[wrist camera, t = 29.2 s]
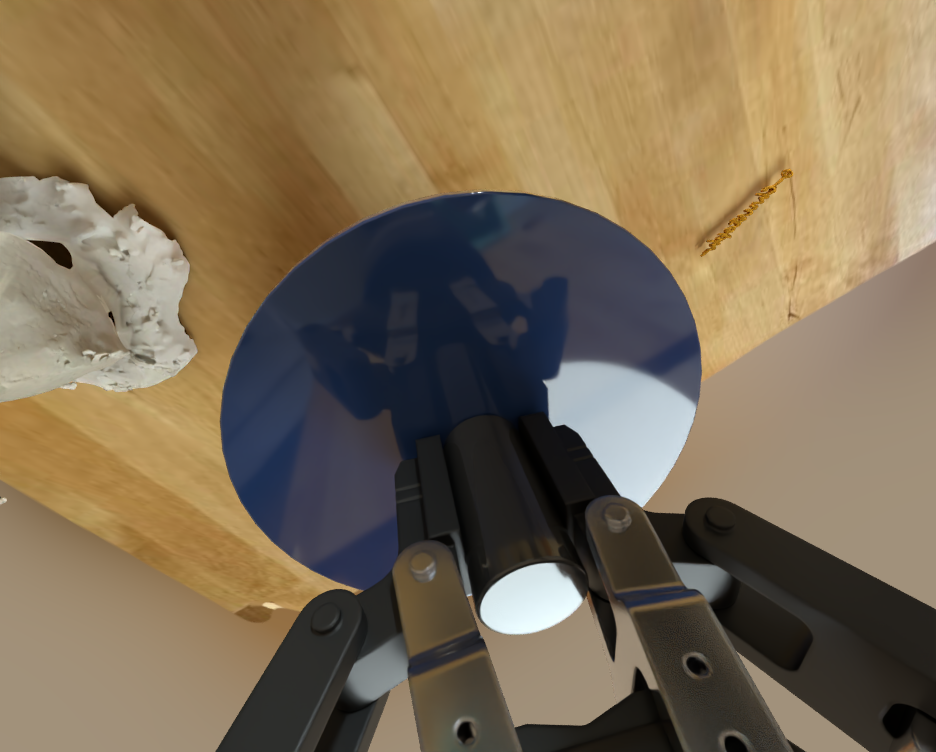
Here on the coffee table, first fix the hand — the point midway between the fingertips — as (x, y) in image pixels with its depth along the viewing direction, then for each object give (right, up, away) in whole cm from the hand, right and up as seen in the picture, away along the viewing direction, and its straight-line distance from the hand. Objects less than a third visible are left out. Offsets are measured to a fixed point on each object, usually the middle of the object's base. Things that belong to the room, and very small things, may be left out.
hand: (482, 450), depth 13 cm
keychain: (+20, +14, +18) cm, 30 cm away
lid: (0, 0, +1) cm, 1 cm away
